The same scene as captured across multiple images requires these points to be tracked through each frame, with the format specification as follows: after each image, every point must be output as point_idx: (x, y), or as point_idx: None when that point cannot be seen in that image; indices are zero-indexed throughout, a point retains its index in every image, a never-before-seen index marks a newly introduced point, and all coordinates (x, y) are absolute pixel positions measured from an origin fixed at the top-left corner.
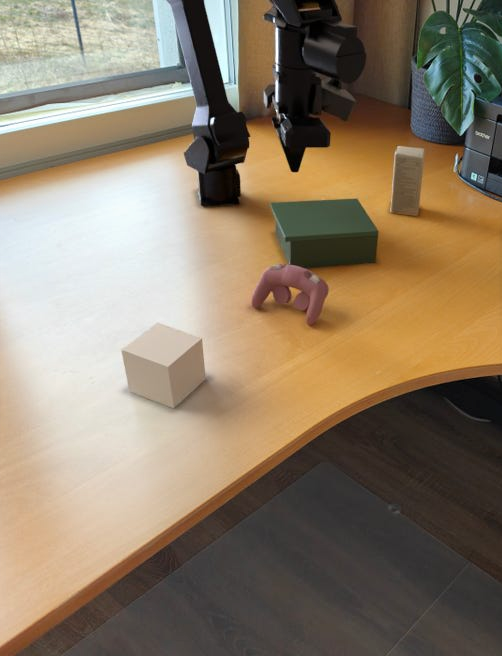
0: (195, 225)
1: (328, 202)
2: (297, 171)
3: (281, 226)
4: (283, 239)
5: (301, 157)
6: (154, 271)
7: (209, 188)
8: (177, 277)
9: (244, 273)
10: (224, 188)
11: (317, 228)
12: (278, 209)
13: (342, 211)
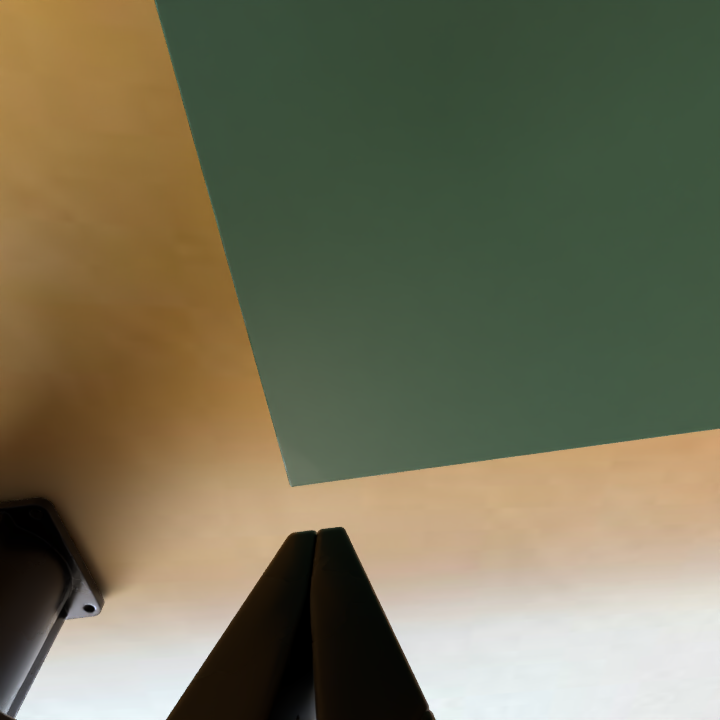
0: None
1: (238, 123)
2: (345, 534)
3: (593, 441)
4: None
5: (405, 667)
6: (555, 672)
7: (44, 640)
8: (601, 628)
9: (619, 471)
10: (24, 598)
11: (663, 245)
12: (381, 451)
13: (402, 10)
